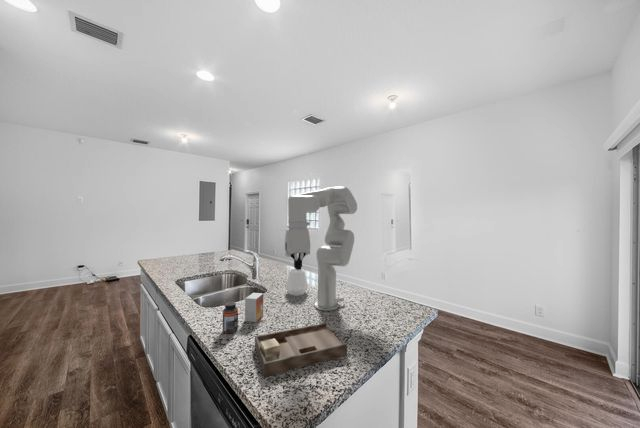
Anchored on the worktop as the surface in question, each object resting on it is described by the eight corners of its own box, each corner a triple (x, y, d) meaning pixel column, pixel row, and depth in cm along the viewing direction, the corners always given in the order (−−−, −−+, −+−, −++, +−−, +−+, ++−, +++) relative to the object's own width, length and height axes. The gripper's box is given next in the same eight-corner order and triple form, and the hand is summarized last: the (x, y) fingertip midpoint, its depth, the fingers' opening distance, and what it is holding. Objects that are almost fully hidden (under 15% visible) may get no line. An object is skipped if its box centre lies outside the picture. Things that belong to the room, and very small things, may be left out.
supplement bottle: (225, 327, 104) (225, 300, 104) (239, 326, 105) (239, 300, 105) (220, 334, 99) (220, 306, 98) (235, 333, 99) (236, 306, 99)
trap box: (325, 332, 102) (325, 322, 101) (347, 355, 86) (347, 344, 86) (254, 347, 90) (254, 336, 90) (264, 377, 74) (264, 363, 74)
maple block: (274, 346, 86) (274, 338, 86) (279, 354, 82) (279, 345, 81) (260, 350, 83) (260, 341, 83) (264, 358, 79) (265, 349, 79)
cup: (282, 290, 152) (283, 268, 151) (303, 288, 157) (303, 266, 157) (289, 298, 139) (289, 273, 139) (311, 295, 145) (311, 271, 144)
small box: (255, 322, 109) (256, 299, 109) (244, 321, 110) (244, 298, 110) (263, 315, 117) (263, 293, 117) (252, 314, 118) (253, 292, 118)
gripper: (310, 223, 109) (310, 264, 110) (277, 225, 102) (278, 269, 103) (317, 225, 102) (317, 269, 103) (282, 227, 96) (283, 273, 97)
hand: (298, 268), depth 103 cm, fingers closed
